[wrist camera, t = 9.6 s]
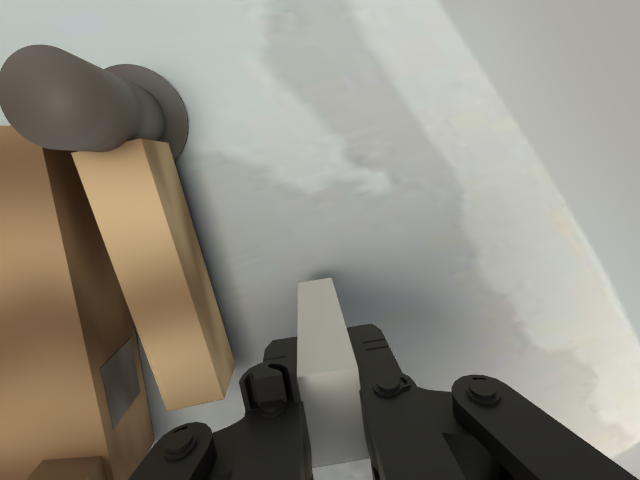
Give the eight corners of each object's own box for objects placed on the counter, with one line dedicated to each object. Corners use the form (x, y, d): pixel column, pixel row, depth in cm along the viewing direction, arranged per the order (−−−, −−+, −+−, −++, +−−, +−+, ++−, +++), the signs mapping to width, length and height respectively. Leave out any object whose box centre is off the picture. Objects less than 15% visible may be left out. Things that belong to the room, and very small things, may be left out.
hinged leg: (85, 91, 13) (-21, 55, 9) (152, 77, 13) (80, 35, 9) (183, 375, 17) (141, 451, 12) (238, 364, 17) (215, 435, 12)
